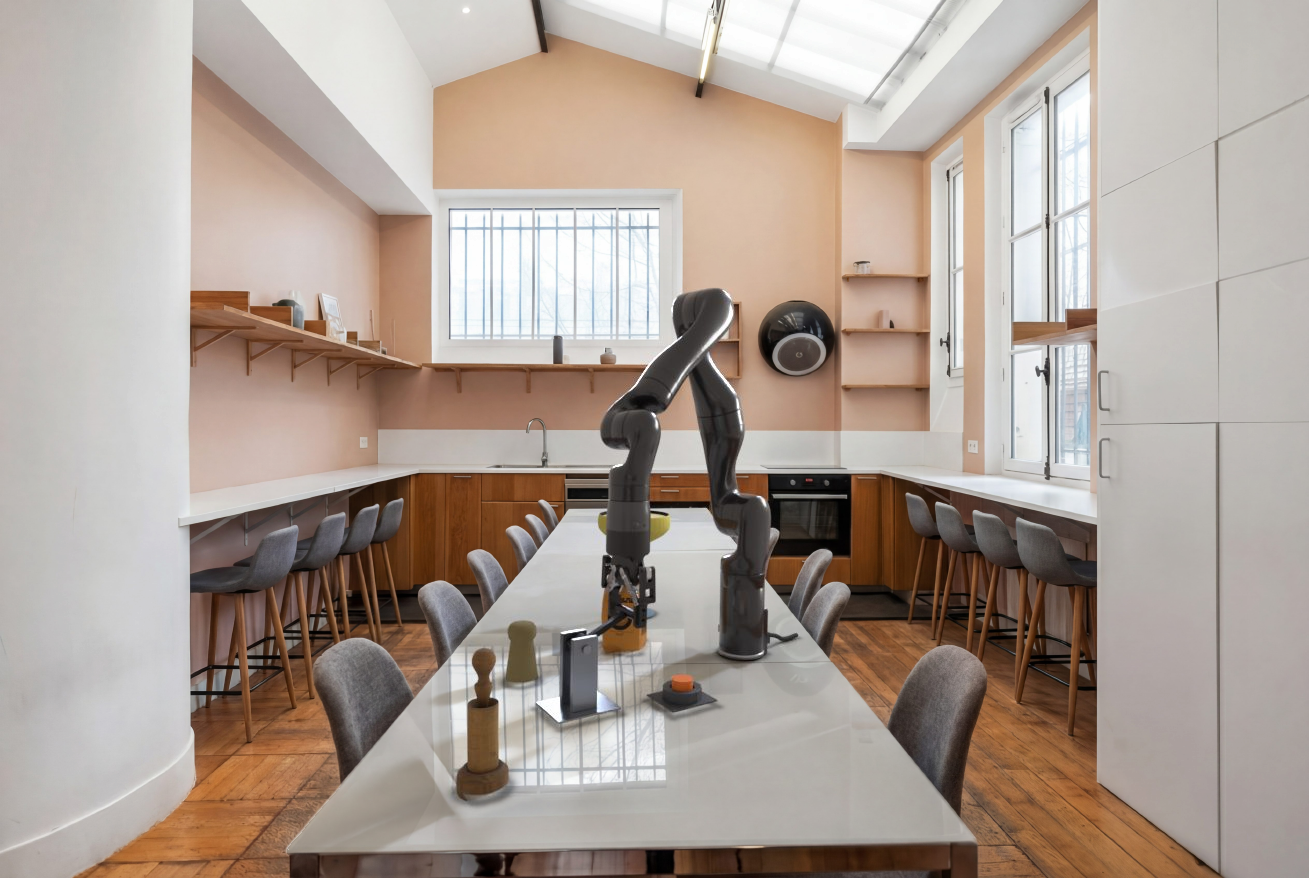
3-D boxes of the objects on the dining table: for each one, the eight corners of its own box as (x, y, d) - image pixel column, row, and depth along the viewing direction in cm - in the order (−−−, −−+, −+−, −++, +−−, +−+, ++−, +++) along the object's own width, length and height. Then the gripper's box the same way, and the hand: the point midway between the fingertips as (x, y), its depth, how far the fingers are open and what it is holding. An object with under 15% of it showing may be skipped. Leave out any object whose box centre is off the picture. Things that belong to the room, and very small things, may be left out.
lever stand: (595, 695, 119) (596, 622, 119) (620, 714, 111) (622, 636, 111) (535, 709, 113) (536, 631, 113) (558, 730, 105) (559, 647, 105)
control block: (689, 690, 122) (689, 674, 122) (717, 706, 115) (717, 689, 115) (646, 701, 117) (646, 683, 117) (673, 718, 110) (673, 699, 110)
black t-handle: (624, 611, 120) (619, 599, 119) (642, 619, 115) (637, 607, 114) (566, 650, 114) (561, 638, 113) (582, 661, 109) (577, 648, 108)
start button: (684, 682, 118) (684, 672, 118) (696, 689, 115) (697, 679, 115) (667, 686, 116) (667, 676, 116) (679, 694, 113) (679, 683, 113)
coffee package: (594, 655, 140) (596, 547, 139) (605, 636, 152) (606, 538, 152) (642, 657, 139) (644, 549, 138) (649, 638, 151) (651, 539, 151)
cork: (530, 689, 121) (531, 627, 121) (499, 686, 122) (499, 625, 122) (543, 677, 127) (544, 618, 127) (512, 674, 128) (513, 616, 128)
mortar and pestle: (462, 775, 91) (463, 641, 91) (511, 774, 92) (512, 640, 91) (451, 803, 85) (452, 658, 84) (504, 801, 85) (506, 657, 85)
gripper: (670, 530, 112) (668, 628, 113) (626, 519, 124) (624, 608, 125) (630, 533, 108) (628, 635, 109) (589, 522, 120) (587, 614, 121)
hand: (626, 621), depth 117 cm, fingers open, 8 cm apart
